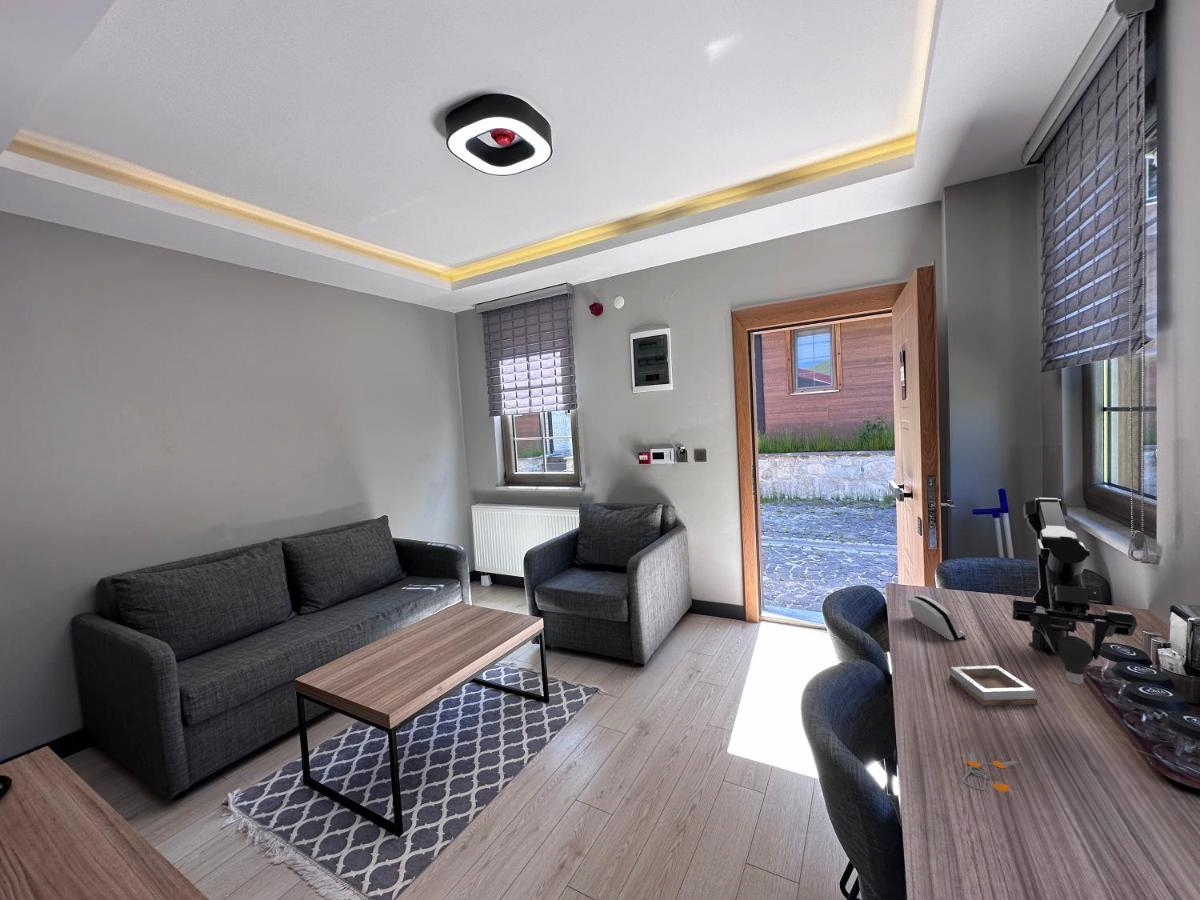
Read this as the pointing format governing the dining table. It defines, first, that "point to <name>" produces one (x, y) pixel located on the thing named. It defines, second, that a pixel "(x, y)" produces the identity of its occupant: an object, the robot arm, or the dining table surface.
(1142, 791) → the dining table surface
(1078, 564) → the robot arm
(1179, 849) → the dining table surface
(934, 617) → the white arched casing
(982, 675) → the socket collar
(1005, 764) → the key chain
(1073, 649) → the light bulb
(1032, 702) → the socket board
